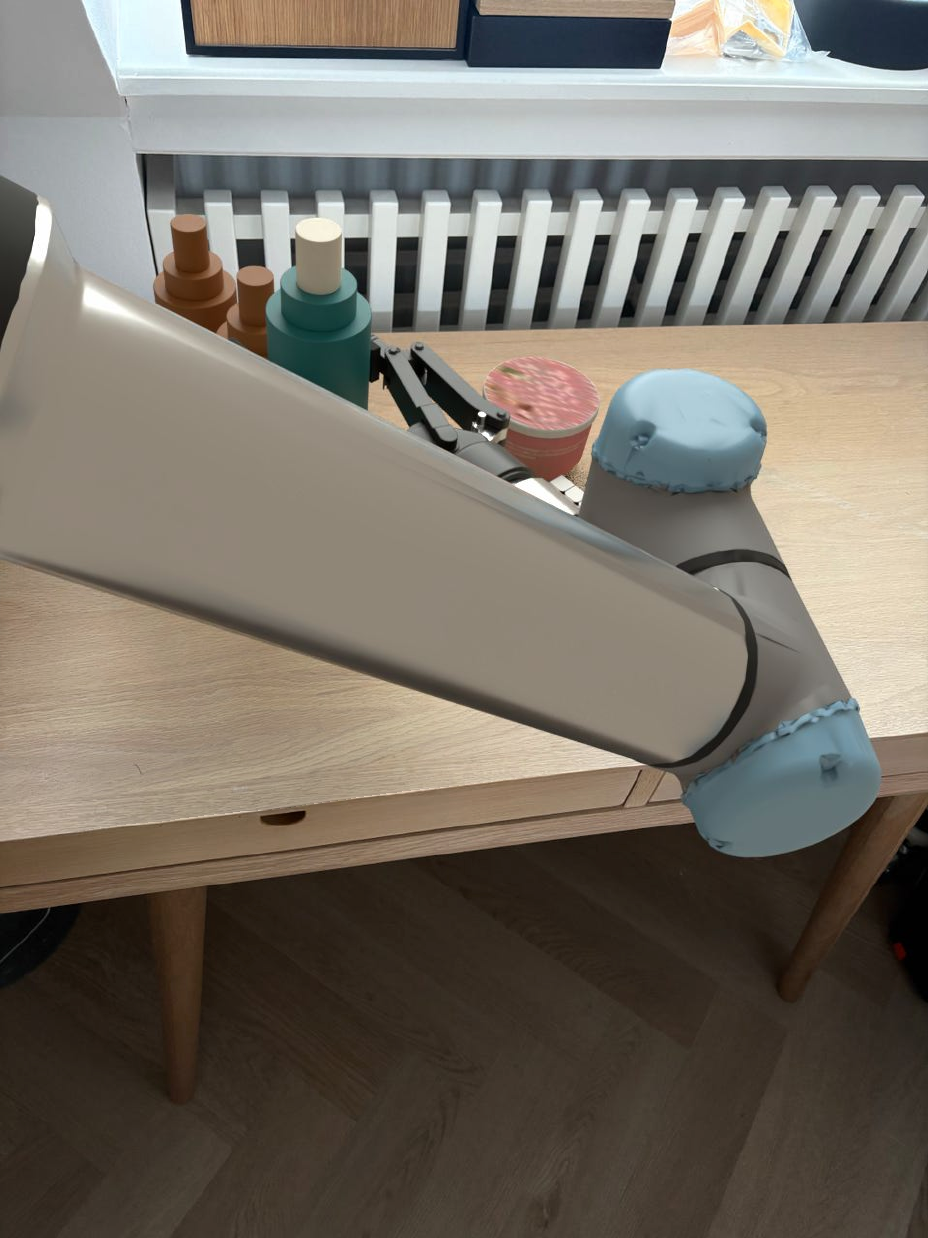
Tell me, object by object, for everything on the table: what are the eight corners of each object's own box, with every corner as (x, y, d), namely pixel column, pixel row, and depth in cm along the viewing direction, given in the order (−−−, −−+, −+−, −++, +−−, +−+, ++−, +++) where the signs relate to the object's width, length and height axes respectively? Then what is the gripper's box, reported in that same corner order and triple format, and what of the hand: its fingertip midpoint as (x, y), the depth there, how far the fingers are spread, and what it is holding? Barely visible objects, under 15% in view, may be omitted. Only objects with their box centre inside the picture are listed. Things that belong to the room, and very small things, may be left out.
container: (502, 410, 101) (514, 342, 95) (599, 450, 99) (617, 383, 93) (453, 470, 95) (462, 401, 89) (555, 514, 93) (572, 446, 86)
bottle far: (197, 441, 93) (175, 254, 79) (156, 402, 96) (127, 215, 82) (259, 413, 96) (248, 229, 82) (217, 376, 99) (200, 192, 85)
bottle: (310, 507, 73) (307, 272, 59) (254, 455, 76) (238, 219, 61) (384, 469, 76) (398, 238, 62) (327, 420, 79) (328, 189, 65)
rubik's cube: (512, 538, 90) (521, 497, 86) (552, 514, 92) (562, 473, 89) (552, 572, 88) (562, 531, 84) (592, 547, 90) (604, 507, 87)
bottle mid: (256, 496, 89) (244, 311, 75) (211, 454, 92) (191, 268, 78) (318, 465, 93) (318, 282, 78) (273, 425, 95) (265, 242, 81)
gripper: (371, 641, 60) (158, 431, 70) (596, 502, 70) (381, 335, 80) (376, 553, 55) (143, 338, 64) (620, 415, 64) (386, 247, 74)
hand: (275, 337), depth 72 cm, fingers closed on bottle, 7 cm apart
